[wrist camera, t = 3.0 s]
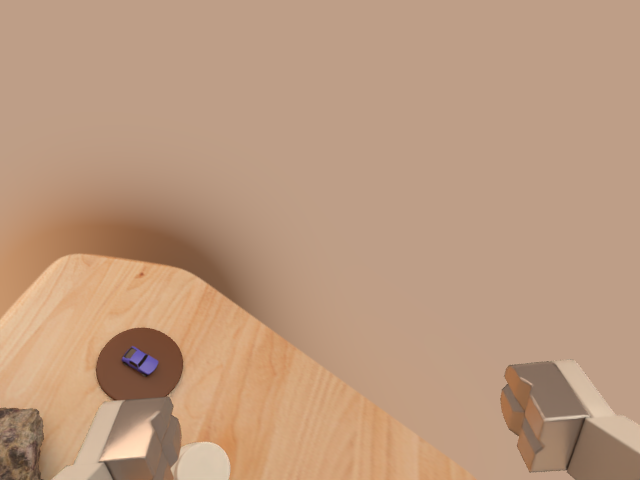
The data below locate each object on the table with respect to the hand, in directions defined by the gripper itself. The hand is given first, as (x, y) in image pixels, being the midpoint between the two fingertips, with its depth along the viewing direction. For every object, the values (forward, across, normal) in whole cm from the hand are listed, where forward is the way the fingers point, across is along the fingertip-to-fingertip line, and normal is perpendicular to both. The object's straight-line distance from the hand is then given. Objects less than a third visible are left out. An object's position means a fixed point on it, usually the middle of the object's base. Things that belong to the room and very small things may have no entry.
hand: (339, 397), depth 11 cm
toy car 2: (+26, +19, +24) cm, 40 cm away
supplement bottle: (+16, +14, +30) cm, 38 cm away
